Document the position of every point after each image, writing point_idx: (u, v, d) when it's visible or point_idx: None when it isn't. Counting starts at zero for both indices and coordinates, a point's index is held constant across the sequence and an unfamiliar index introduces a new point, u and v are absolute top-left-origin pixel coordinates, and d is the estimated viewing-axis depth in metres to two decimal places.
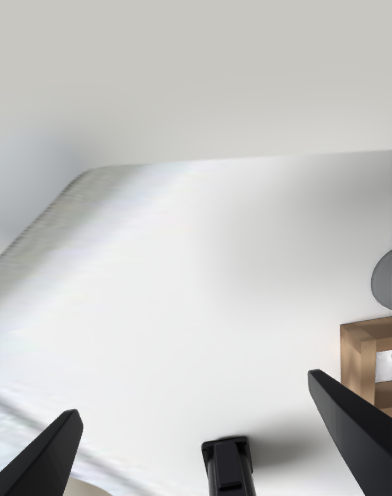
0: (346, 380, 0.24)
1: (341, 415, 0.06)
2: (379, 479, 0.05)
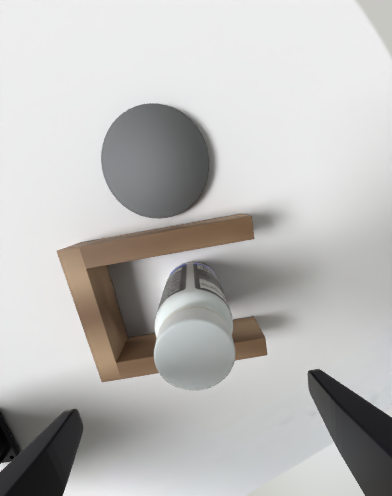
0: None
1: (341, 415, 0.06)
2: (379, 479, 0.05)
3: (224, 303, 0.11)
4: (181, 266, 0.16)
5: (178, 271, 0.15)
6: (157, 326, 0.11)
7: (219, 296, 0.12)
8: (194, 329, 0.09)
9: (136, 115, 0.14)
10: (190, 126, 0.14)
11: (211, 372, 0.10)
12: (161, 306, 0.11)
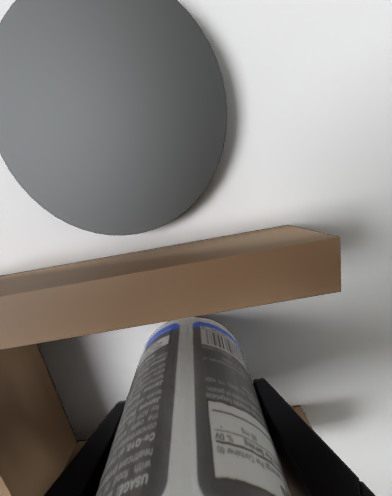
0: None
1: (271, 426, 0.06)
2: (295, 492, 0.05)
3: None
4: (169, 330, 0.08)
5: (161, 351, 0.07)
6: None
7: None
8: None
9: None
10: (186, 26, 0.06)
11: None
12: None
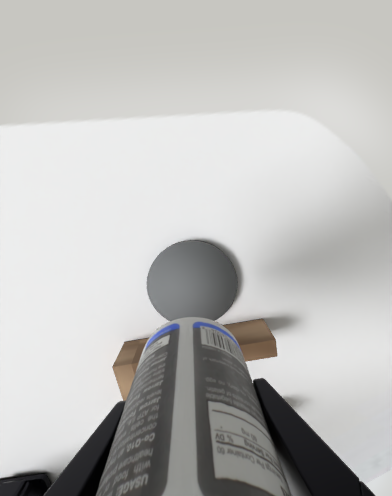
0: None
1: (271, 426, 0.06)
2: (295, 492, 0.05)
3: None
4: (169, 330, 0.08)
5: (161, 351, 0.07)
6: None
7: None
8: None
9: (177, 250, 0.17)
10: (222, 257, 0.17)
11: None
12: None
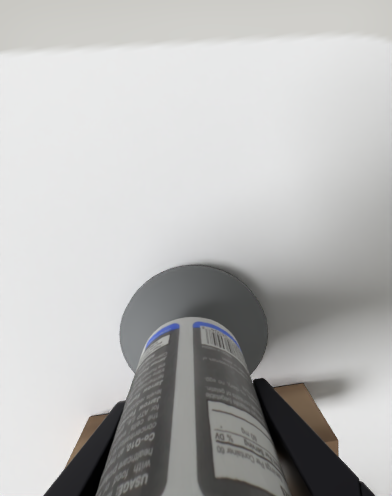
0: None
1: (271, 426, 0.06)
2: (295, 492, 0.05)
3: None
4: (169, 330, 0.08)
5: (160, 351, 0.07)
6: None
7: None
8: None
9: (170, 283, 0.10)
10: (245, 294, 0.10)
11: None
12: None
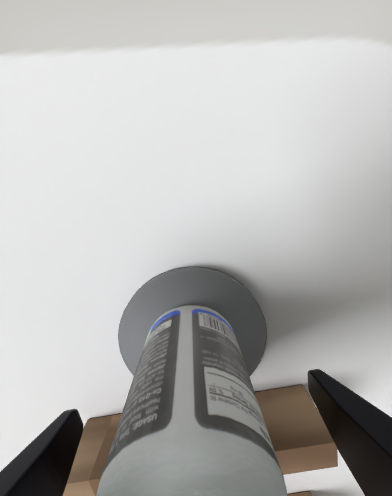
0: None
1: (341, 415, 0.06)
2: (379, 479, 0.05)
3: (269, 460, 0.05)
4: (171, 316, 0.09)
5: (164, 332, 0.08)
6: None
7: (254, 434, 0.05)
8: None
9: (168, 284, 0.10)
10: (244, 296, 0.10)
11: None
12: (109, 470, 0.04)
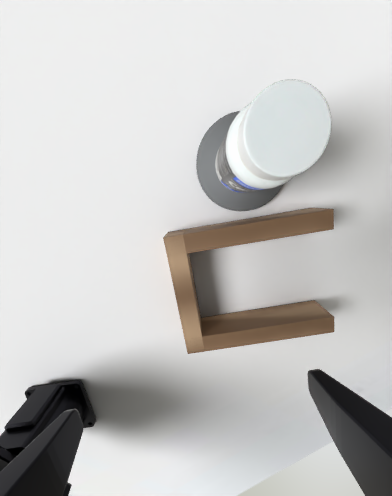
0: None
1: (341, 415, 0.06)
2: (379, 479, 0.05)
3: None
4: None
5: None
6: (232, 135, 0.10)
7: None
8: (291, 91, 0.08)
9: (231, 121, 0.16)
10: None
11: (303, 151, 0.09)
12: (235, 117, 0.11)
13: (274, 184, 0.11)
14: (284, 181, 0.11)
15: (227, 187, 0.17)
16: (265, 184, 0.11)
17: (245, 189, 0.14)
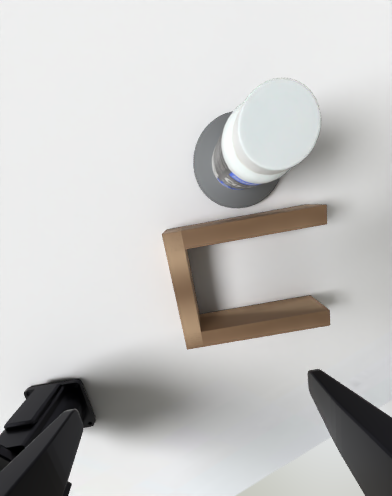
0: None
1: (341, 415, 0.06)
2: (379, 479, 0.05)
3: None
4: None
5: None
6: (227, 132, 0.11)
7: None
8: (282, 88, 0.09)
9: (226, 120, 0.17)
10: None
11: (295, 146, 0.09)
12: (230, 115, 0.11)
13: (268, 179, 0.12)
14: (278, 176, 0.12)
15: (223, 184, 0.17)
16: (260, 179, 0.12)
17: (241, 185, 0.14)
